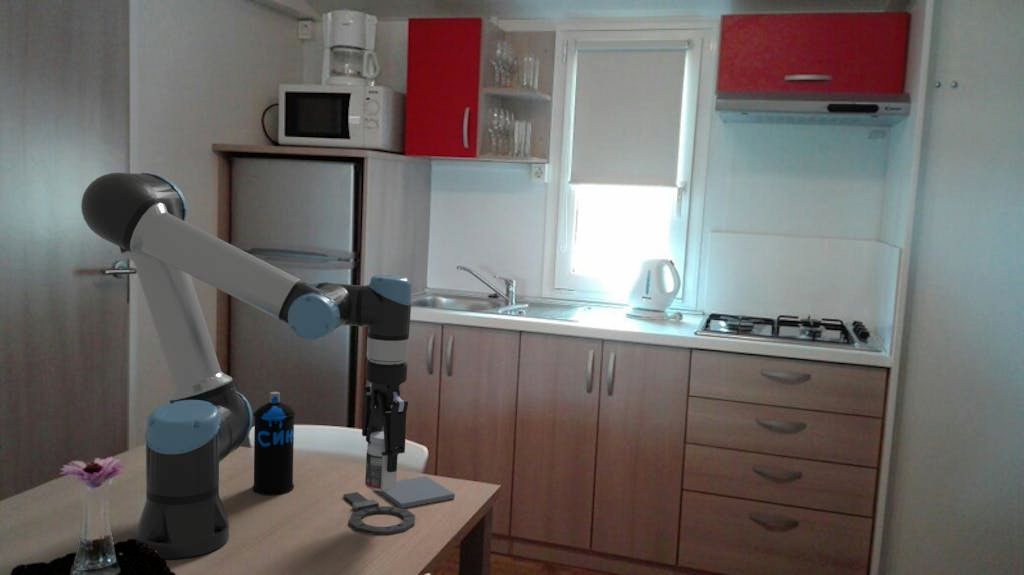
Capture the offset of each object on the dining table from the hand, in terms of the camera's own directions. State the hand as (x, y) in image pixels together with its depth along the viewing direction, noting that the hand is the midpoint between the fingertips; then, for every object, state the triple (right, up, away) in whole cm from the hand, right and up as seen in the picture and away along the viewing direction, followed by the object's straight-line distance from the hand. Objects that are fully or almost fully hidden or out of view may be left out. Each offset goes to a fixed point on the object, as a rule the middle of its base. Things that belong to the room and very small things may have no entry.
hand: (380, 481), depth 159 cm
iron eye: (-2, -7, +4) cm, 9 cm away
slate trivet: (+4, -6, +16) cm, 18 cm away
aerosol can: (-24, -5, +15) cm, 29 cm away
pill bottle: (0, -1, 0) cm, 1 cm away
